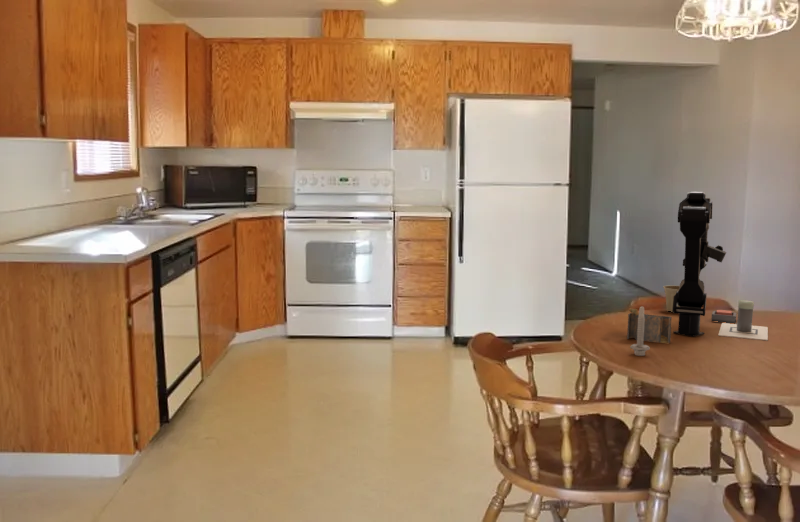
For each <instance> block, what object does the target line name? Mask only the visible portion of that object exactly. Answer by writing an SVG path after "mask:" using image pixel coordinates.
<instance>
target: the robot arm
mask: <svg viewBox="0 0 800 522" xmlns="http://www.w3.org/2000/svg"><path fill="white" fill-rule="evenodd" d="M713 205H714V204H713V201H711V198H710V197H707V194H706V192H704V191H689V192H687V193H686V197H685V198H684V199H682V201H681V202H679V204H678V211H677V223H678V224H679V231H680V232H681V234H682V235H683V236H684V239H685V243H684V245H685V246H684V248H685V249H684V258H683V260H682V267H684V272H683V273H684V277H683V278H684V279H682V280H681V281H680V283H679V285H678V286H679V291H677V292H676V295H674V299H673V310H672V312H673V314H674V315H675V314H676V315H677V314H678V329H677V330H674V331H673V334H677V335H682V336H686V337H691V338H692V337H693V338H694V337H698V336H703V335H705V332H703V331H700V328H701V316H703V317H705V316H706V307H707V293H705V283H704V281H703V280H701V279H700V275H701V271H702V270H703V269H705V267H706V266H707V264H708V263H709V259H713V260H715V261H716V262H718V263H722V262H723V261H724V259H725V257H726V254H727V252H726V251H725V250H724V248H723V246H721V245H719V244H718V245H716V246H715V247H714V246H711V245H710V244H709V241H708V233H709V232H708V231H709V229H710V221H711V220H713ZM706 263H707V264H706ZM678 306H680V307H678Z"/></svg>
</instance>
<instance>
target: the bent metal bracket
mask: <svg viewBox="0 0 800 522" xmlns="http://www.w3.org/2000/svg"><path fill="white" fill-rule="evenodd" d="M644 315H645V316H644V317H645V318H644V319H645V321H644V322H645V323H644V324H645V325H644V326H645V327H644V338H643V339H644V341H643V342H650V343H660V344H667V345H669V344H670V343H671V338H672V337H671V335H672V334H671V333H672V319H673V318H672V316H668V315H667V316H665V315H656V314H645V313H644ZM638 318H639V309H638V308H630V307H629V313H628V315H627V335H626V337H627V338H626V339H627V340H629V339H631V338H632V339H634V340H635V341H637V336H638V332H637V331H638V330H637V329H638V328H637V327H638Z"/></svg>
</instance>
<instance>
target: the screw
mask: <svg viewBox="0 0 800 522" xmlns="http://www.w3.org/2000/svg"><path fill="white" fill-rule="evenodd" d="M638 314H639V318H638V327H637V328H638V329H637V330H638V331H637V332H638V336H637V340H636V343H633V344H631V345H630V347H629V348H630V349H632V350H633V351H634V355H635V356H638V357H643V356H644V357H645V356H646V352H647V351H649V350H650V346H649V345H647V344H644V343H645V341H644V339H643V338H644V327H645V326H644V325H645V324H644V323H645V322H644V321H645V319H644V318H645V317H644V316H645V315H644V314H645V307H644V306H640V307H639V309H638Z"/></svg>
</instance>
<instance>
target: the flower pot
mask: <svg viewBox="0 0 800 522" xmlns="http://www.w3.org/2000/svg"><path fill="white" fill-rule="evenodd" d="M679 286H680V285H673V284H672V285H663V287H662V288H663V289H664V293H665V303H666V311H667V312H668V311H671V312H672V310H673V299H674V295H676V292H677V291H679ZM678 307H680V306H678ZM671 312H670V313H671Z"/></svg>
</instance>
